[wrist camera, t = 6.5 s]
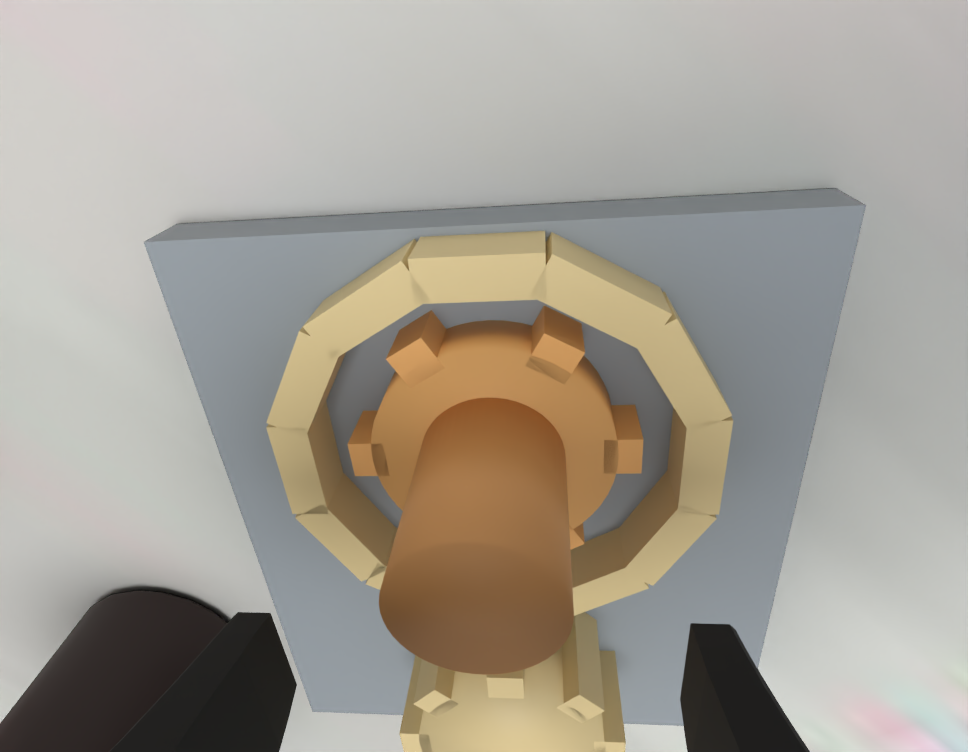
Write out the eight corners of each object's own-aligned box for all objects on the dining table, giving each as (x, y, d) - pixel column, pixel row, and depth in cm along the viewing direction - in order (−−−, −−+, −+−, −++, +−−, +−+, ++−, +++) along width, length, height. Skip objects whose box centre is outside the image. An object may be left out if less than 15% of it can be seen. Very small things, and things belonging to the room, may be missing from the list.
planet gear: (640, 301, 14) (696, 462, 9) (629, 517, 17) (666, 728, 12) (342, 313, 15) (234, 468, 10) (385, 518, 18) (323, 716, 13)
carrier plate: (835, 188, 14) (949, 251, 10) (732, 688, 23) (770, 823, 19) (176, 223, 16) (56, 289, 12) (324, 675, 25) (284, 796, 21)
